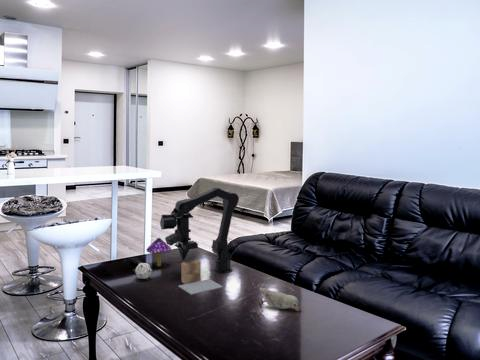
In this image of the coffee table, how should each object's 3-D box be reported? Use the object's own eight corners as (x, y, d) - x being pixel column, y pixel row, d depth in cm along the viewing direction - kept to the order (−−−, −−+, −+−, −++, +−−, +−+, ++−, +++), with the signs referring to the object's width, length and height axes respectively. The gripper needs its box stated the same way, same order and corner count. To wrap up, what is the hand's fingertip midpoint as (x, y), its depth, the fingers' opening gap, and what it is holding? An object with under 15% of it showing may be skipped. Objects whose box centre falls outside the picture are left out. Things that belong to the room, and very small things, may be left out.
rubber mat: (209, 279, 192) (209, 278, 192) (223, 287, 182) (223, 286, 182) (178, 286, 183) (178, 285, 183) (191, 294, 173) (191, 294, 173)
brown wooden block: (196, 278, 194) (196, 260, 193) (200, 280, 191) (200, 261, 190) (181, 281, 189) (181, 262, 188) (185, 284, 186) (185, 264, 186)
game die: (147, 285, 194) (159, 267, 196) (141, 285, 186) (154, 266, 188) (132, 274, 196) (145, 257, 198) (126, 274, 188) (139, 255, 190)
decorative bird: (297, 314, 155) (298, 295, 154) (256, 308, 160) (257, 289, 160) (300, 309, 160) (300, 290, 159) (260, 303, 165) (261, 285, 165)
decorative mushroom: (162, 261, 221) (162, 233, 219) (176, 266, 212) (175, 238, 210) (142, 266, 212) (141, 237, 211) (154, 271, 203) (154, 242, 202)
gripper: (158, 226, 197) (159, 257, 199) (176, 233, 182) (176, 267, 184) (179, 223, 204) (180, 254, 205) (198, 230, 189) (198, 263, 190)
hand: (183, 259), depth 196 cm, fingers closed
